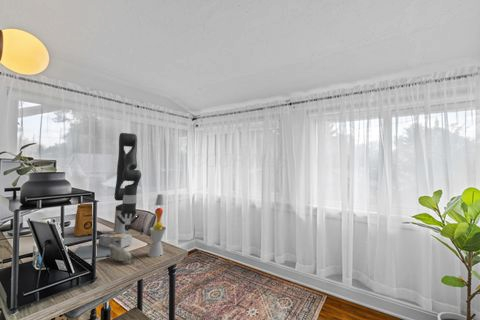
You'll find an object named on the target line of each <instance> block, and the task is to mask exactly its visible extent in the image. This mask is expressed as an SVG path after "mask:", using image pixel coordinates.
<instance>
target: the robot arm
mask: <svg viewBox="0 0 480 320" xmlns="http://www.w3.org/2000/svg"><path fill="white" fill-rule="evenodd" d="M125 147H128V148H129V147H130V148H131V149H130V150H129V151H128V152H127V153H126V150H125ZM137 151H138V137H137V135H136V134H135V133H129V132H121V133H119V137H118V158H117V168H116V182H115V190H114V200H115V201H119V202H120V201H122V203H121V204H118V205H116V206H115V212H114V214H115V215H114V220H113V232H118V233H125V234H128V231H129V230H130V229H131V225H132V224H134V223H135V222H136V221H137V220H138V218H139V217H140V214H139V213H137V211H136V208H137V193H138V192H137V191H138V185H139V183H140V181H141V178H142V172H141V171H140V170H139V169H137V167H138V162H137V160H138V159H137V153H138V152H137ZM124 182H132V183H131V184H126V185H124V187H122V184H123V183H124ZM132 218H133V219H132Z"/></svg>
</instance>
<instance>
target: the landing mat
mask: <svg viewBox="0 0 480 320" xmlns="http://www.w3.org/2000/svg"><path fill="white" fill-rule="evenodd" d="M92 245H93V244H92ZM92 245H91V244H90V245H80V246H78V247H77V249H76V250H75V252H74V253H75V254H77V255H78V256H79V257H81V258H82V259H83V260H91V257H92ZM96 245H97V256H96V258H95V259H101V258H110V257H111V256H112V255H110V249H111V248H110V247H105V246H99V244H96ZM107 254H108V256H109V255H110V256H109V257H107ZM111 258H112V257H111Z"/></svg>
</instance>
